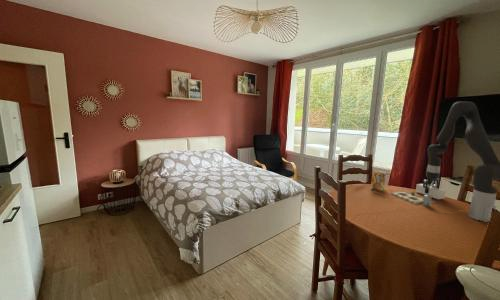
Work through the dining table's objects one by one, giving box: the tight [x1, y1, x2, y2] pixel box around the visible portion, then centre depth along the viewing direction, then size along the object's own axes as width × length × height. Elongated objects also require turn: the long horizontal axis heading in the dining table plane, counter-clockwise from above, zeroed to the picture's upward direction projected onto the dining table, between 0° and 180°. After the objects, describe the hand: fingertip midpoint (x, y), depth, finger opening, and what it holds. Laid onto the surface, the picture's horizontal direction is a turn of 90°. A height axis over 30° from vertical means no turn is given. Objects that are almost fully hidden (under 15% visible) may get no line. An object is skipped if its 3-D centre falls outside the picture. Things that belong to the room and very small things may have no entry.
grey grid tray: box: [405, 190, 436, 204], centre depth 159 cm, size 20×7×4 cm, turn 15°
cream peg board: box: [390, 191, 423, 205], centre depth 157 cm, size 18×10×2 cm, turn 15°
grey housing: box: [415, 183, 446, 200], centre depth 162 cm, size 16×6×6 cm, turn 15°
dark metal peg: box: [422, 194, 433, 208], centre depth 144 cm, size 4×4×8 cm
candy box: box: [370, 170, 387, 191], centre depth 175 cm, size 9×4×15 cm, turn 44°
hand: (429, 192), depth 162 cm, fingers closed on grey housing, 6 cm apart
